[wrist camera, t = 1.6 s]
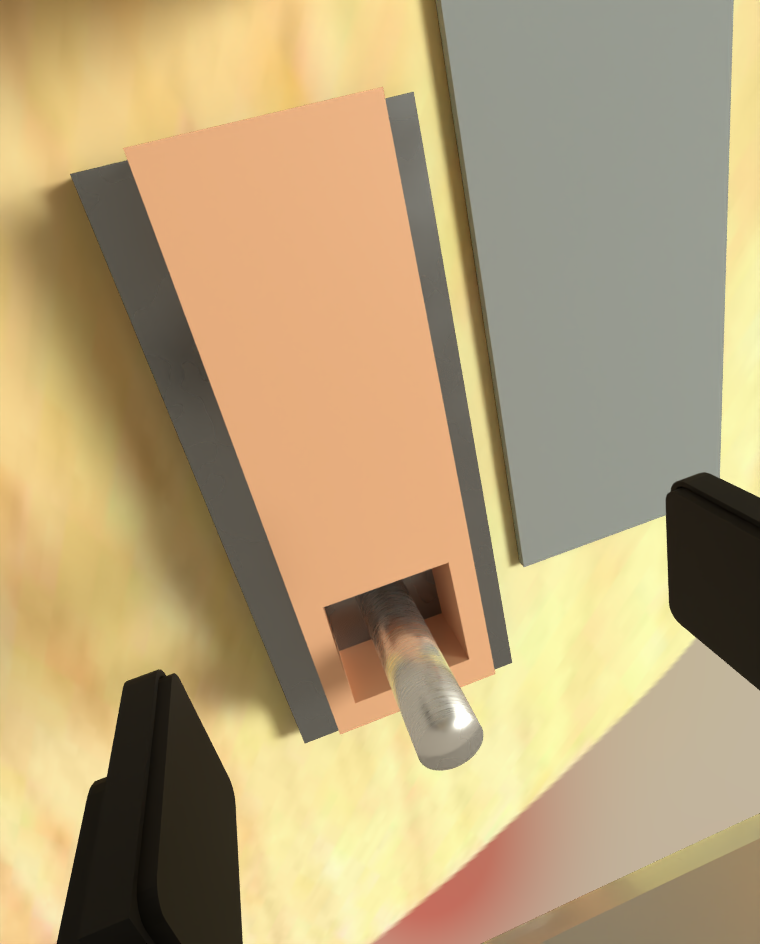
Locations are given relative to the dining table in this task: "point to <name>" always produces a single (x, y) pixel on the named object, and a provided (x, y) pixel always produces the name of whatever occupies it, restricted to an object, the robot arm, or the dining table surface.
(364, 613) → the pin stand
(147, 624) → the dining table surface
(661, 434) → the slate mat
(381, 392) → the link bar
